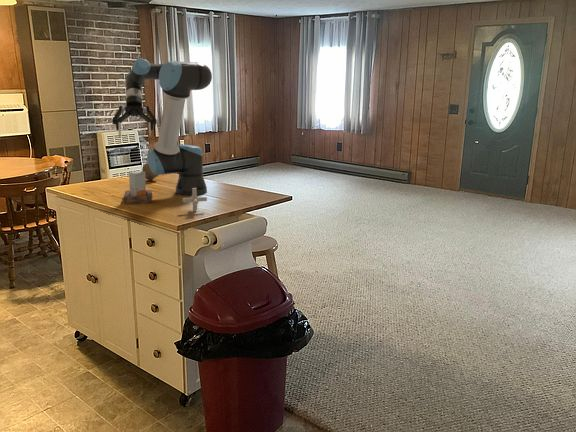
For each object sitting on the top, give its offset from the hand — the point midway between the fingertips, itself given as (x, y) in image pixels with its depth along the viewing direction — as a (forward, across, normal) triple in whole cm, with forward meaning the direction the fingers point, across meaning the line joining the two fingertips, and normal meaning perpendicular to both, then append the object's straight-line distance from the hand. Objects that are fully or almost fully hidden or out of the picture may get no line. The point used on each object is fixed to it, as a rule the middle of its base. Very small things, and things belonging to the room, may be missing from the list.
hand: (135, 135), depth 234 cm
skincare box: (+28, 0, -10) cm, 30 cm away
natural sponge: (-2, -6, -43) cm, 43 cm away
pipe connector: (+46, -24, +6) cm, 52 cm away
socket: (+29, 0, -11) cm, 31 cm away
